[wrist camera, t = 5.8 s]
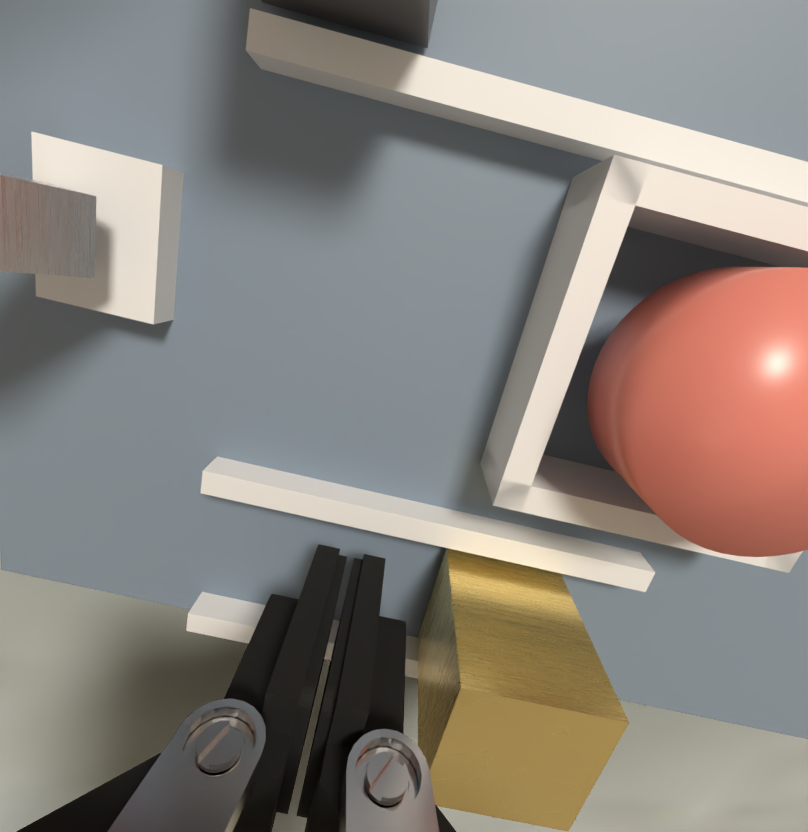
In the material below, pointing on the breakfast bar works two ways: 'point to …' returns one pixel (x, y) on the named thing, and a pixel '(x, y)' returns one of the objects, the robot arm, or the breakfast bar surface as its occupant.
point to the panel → (391, 308)
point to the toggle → (46, 228)
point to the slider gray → (373, 16)
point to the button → (713, 407)
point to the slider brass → (511, 694)
